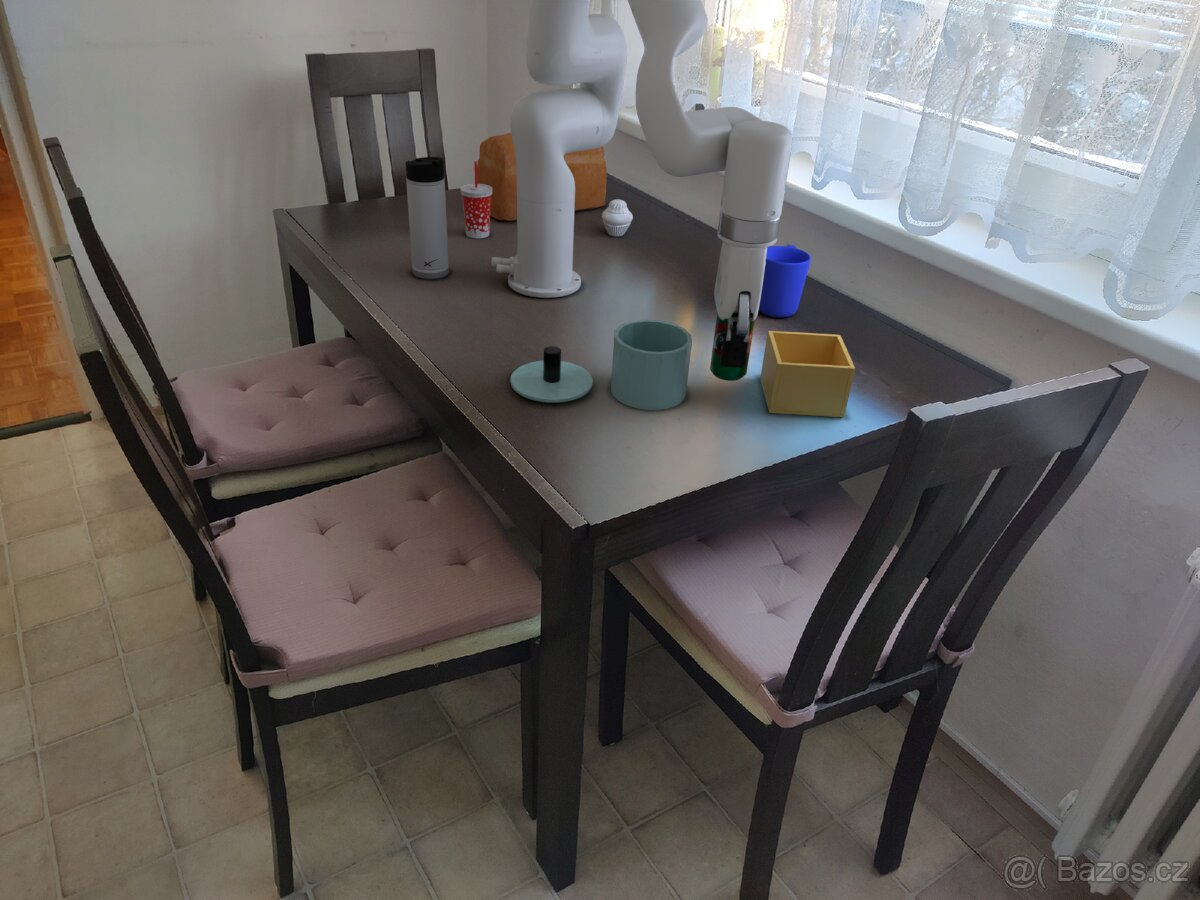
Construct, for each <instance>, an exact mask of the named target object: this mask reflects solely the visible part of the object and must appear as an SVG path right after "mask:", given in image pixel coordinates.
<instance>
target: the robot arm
mask: <svg viewBox="0 0 1200 900" xmlns="http://www.w3.org/2000/svg"><path fill="white" fill-rule="evenodd" d="M627 2H628V5H629V8H630V11H631V13H632V16H633V18H634V21H635V24H636V27H637V29H638V33H639V35H640V38H641V40H642V43H643V48H644V49H643V54H642V57H641V60H640V62H639V64H638V65H639V66H638V69H637V73H636V80H635V81H636V82H635V110H636V114H637V118H638V119H637V120H638V122H639V125H640V128H641V131H642V134H643V135H644V137H645V141H646V144H647V146H648V149H649V151H650V153H651V155H652V157H653V159H654V160H655V162H656V164H657V165H658V166H659V168H660V169H661V170H662V171H663V172H665V173H666V174H667V175H670V176H672V177H677V178H684V177H692V176H696V175H704V174H709V173H718V172H724V176H723V185H722V192H721V200H720V201H721V202H720V211H719V219H718V225H717V234H716V235H717V237H718V239H719V240H721V247H720V253H719V259H718V260H719V261H718V266H717V272H716V277H715V284H714V290H713V297H714V303H715V309H716V314H717V313H718V316H719V318H720V319H721V320H724V319H728V323H727V333H726V338H724V339H723V347H722V354H721V362H720V363H721V366H722V367H737V368H743V367H744V366H745V360H746V354H747V347H748V335H749V325H750V320H751V321H754V320H755V321H756V320H757V318H758V313H759V304H760V299H761V292H762V285H763V278H764V271H765V264H766V255H767V247H771V246H775V244H776V243H777V242H778V237H779V236H778V235H779V229H780V223H781V218H782V217H781V216H782V211H783V205H784V200H785V192H786V186H787V179H788V175H789V169H790V167H789V166H790V162H791V157H792V149H793V143H794V142H793V133H792V131H791V130H790V128H788V127H787V126H785V125H783V124H781V123H777V122H774V121H768V120H762V119H761V118H759V117H758V116H756V115H755V114H753V113H751V112H750V111H748V110H746V109H744V108H742V107H737V106H725V107H724V106H723V107H718V108H706V109H698V110H697V109H696V110H688V111H684V108H683V106H682V104H681V101H680V98H679V95H678V93H677V90H676V86H675V81H674V74H673V73H674V71H673V70H674V63H675V58H677V57H679V56H681V55H682V54H683V53H685V52H686V51H688V50H689V49H690V48H692V47H693V46H694V45H695V44H697V42H698V41H700V40H701V39H702V37H703V36H704V34H705V33H706V31H707V29H708V26H709V18H708V14H707V12H706V9H705V6H704V4H703V1H702V0H627ZM590 3H591V0H530V4H529V5H530V6H529V16H528V26H527V27H528V28H527V37H526V38H527V39H526V55H525V56H526V57H525V58H526V60H525V61H526V67H527V71H528V74H529V75H530V77H531V78H532V80H534V81H535V82H537V83H538V84H542V85H544V86H545V85H546V86H566V85H578V84H579V87H573V88H557V89H547V90H538V91H533V92H531V93H530V92H529V93H526V94H525V95H523V96H521V97H520V98H519V99H518V100H516V101H515V103H514V104H513V106H512V108H511V111H510V116H509V125H510V133H512V139H513V144H514V150H515V158H516V171H517V220H516V252H515V256H509V258H508V257H507V258H504V257H498V256H492V257H491V261H490V263H491V265H490V266H491V269H496V273H498V274H508V276H507V283H508V286H509V288H510V289H511V290H513V291H514V292H516V293H518V294H521V295H524V296H529V297H532V298H542V299H543V298H544V299H545V298H546V299H551V298H560V297H565V296H569V295H572V294H573V293H575V292H577V291H578V290H579V289H580V288H581V285H582V278H581V276H580V275H579V273H578V272H576V271H574V270H573V265H574V264H573V263H574V239H575V237H574V235H575V232H574V231H575V211H574V209H575V181H574V177H573V175H572V173H571V171H570V169H569V168H568V166H567V164H566V162H565V160H564V157H563V156H564V154H567V153H571V152H577V151H584V150H590V149H596V148H600V147H602V146H603V147H604V146H606V145H608V144H609V143H610V141H611V140H612V139H613V137H614V135H615V132H616V129H617V125H618V122H619V121H618V120H619V116H620V115H619V114H620V109H621V102H622V97H623V90H624V84H625V76H626V71H627V64H628V45H627V39H626V36H625V32H624V30H623V28H622V27H621V25H620V23H619V22H618V21H617V20H616V19H614V18H613V17H612V16H610V15H606V14H601V13H590ZM733 313H738V317H733V316H732V314H733ZM733 322H737V325H736V327H733V329H732V324H733Z"/></svg>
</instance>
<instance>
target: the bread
mask: <svg viewBox="0 0 1200 900" xmlns="http://www.w3.org/2000/svg"><path fill="white" fill-rule="evenodd" d="M478 155H479V156H478V159H477V184H485V185H488V186H490V187H492V189H493V191H492V194H491V210H490V217H492V218H493V219H495V220H498V221H501V222H502V221H504V222H505V221H506V222H511V221H517V171H516V158H515V150H514V144H513V139H512V133H511V132H507V133H504V134H500V135H499V134H498V135H492V136H489V137H488V138H486V139H485V140H483V141H482V142H481V143H480V144H479V154H478ZM563 157H564V160H565V162H566V164H567V166H568V168H569V169H570V171H571V173H572V175H573V177H574V181H575V209H574V212H579V211H586V210H592V209H598V208H601V207H605V205H606V197H607V182H608V181H607V180H608V179H607V178H608V171H607V163H606V160H605V149H604V146H602V147H600V148H596V149H590V150H584V151H577V152H571V153H567V154H564V156H563Z"/></svg>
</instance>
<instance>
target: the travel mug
mask: <svg viewBox="0 0 1200 900" xmlns="http://www.w3.org/2000/svg"><path fill="white" fill-rule="evenodd" d="M444 161H445V160H444V158H443V157H440V156H425V157H424V156H421V157H416V158H414V159H413V160H407V161H405V172H406V175H405V180H406V194H407V195H406V196H407V210H408V225H409V226H408V227H409V239H410V241H409V242H410V257H411V271H412V275H414V276H415V277H417V278H419V279H423V280H437V279H442V278H444V277H446V276H448V274H449V273H450V270H449V269H450V267H449V265H450V264H449V246H448V244H449V243H448V225H447V224H448V223H447V222H448V221H447V201H446V200H447V199H446V198H447V197H446V182H445V181H446V179H445V173H444V172H445V162H444Z"/></svg>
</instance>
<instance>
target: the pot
mask: <svg viewBox="0 0 1200 900" xmlns="http://www.w3.org/2000/svg"><path fill="white" fill-rule="evenodd" d="M613 333H614V335H613V347H612V348H613V350H612V364H611V382H610V392H611V394H612V396H613V397H614V398H615V399H616V400H617V401H618V402H620V403H621V404H623V405H625V406H628V407H631V408H634V409H639V410H645V411H646V410H647V411H660V410H661V411H662V410H666V409H671V408H674V407H676V406H678V405H680V404H681V403H683V401H684V400H685V397H686V395H687V388H688V380H689V371H690V364H691V356H692V345H693V338H692V334H691V333H690V332H689V331H688V330H687V329H685V328H684V327H682V326H679V325H678V324H675V323H674V322H668V321H665V320H657V319H638V320H631V321H628V322H625V323H623V324H620V325H618V327H617V328H616V329H615V330H614V332H613Z"/></svg>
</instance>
